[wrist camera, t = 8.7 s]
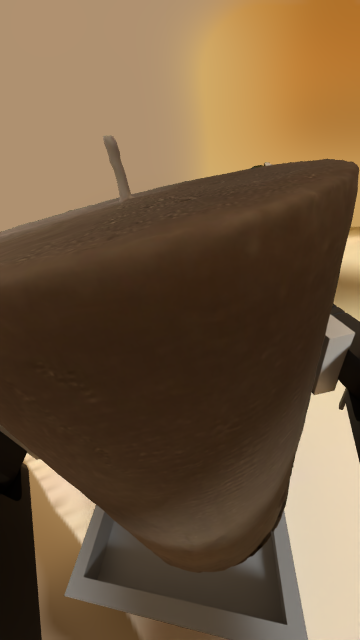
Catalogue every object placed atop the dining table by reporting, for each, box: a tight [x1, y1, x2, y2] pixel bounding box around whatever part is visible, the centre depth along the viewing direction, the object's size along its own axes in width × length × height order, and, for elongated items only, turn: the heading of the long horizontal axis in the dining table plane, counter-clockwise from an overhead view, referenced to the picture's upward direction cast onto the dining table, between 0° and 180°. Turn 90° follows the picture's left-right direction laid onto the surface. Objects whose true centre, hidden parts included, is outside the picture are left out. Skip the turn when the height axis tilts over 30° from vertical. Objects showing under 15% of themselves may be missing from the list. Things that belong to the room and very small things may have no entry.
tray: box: [65, 505, 308, 640], centre depth 27 cm, size 16×31×4 cm, turn 171°
